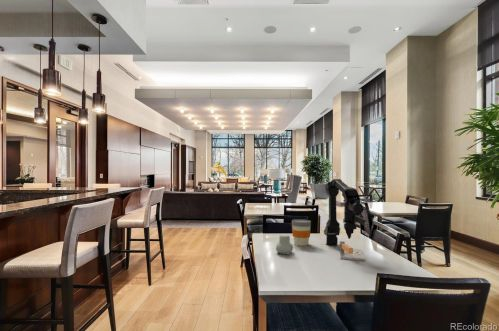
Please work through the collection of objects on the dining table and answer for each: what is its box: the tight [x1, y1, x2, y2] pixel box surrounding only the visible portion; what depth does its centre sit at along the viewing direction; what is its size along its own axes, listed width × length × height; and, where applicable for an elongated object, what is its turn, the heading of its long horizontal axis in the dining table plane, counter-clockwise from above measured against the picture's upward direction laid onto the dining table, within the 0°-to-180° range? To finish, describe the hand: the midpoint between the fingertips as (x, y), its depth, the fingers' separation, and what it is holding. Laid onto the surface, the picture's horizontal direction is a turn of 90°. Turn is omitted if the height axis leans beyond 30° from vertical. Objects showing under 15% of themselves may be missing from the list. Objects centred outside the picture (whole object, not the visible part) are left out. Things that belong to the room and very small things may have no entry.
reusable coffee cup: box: [291, 218, 312, 247], centre depth 184 cm, size 13×13×15 cm
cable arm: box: [339, 240, 354, 254], centre depth 157 cm, size 13×3×4 cm, turn 5°
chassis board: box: [339, 247, 366, 262], centre depth 160 cm, size 12×20×3 cm, turn 163°
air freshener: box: [275, 233, 294, 255], centre depth 163 cm, size 11×8×10 cm
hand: (349, 238), depth 158 cm, fingers closed
